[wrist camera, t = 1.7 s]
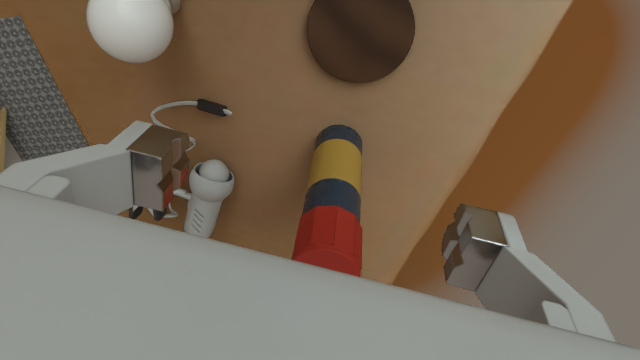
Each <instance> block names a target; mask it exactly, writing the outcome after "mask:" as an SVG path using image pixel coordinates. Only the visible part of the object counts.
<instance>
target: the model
mask: <svg viewBox="0 0 640 360" xmlns="http://www.w3.org/2000/svg"><path fill="white" fill-rule="evenodd" d="M18 162H23V161H22V159H21V158H20V156H19V154H18V153H17V152H16V150H15V148H14V147H13V146H12V143H11V142H10V141H9V140H8V137H7V110H6V108H5V107H4V106H3V107H2V108H1V109H0V173H1V172H2V171H4V170H5V169H6V168H8V167H9V166H11V165H12V164H14V163H18Z"/></svg>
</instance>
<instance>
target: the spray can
mask: <svg viewBox="0 0 640 360" xmlns="http://www.w3.org/2000/svg"><path fill="white" fill-rule="evenodd" d="M361 181H362V140H361V138H360V136H359V134H358V133H357V132H356V131H355V130H353V129H352V128H350V127H347V126H344V125H333V126H330V127H327V128H326V129H324V130H323V131H322V132H321V133H320V134H319V136H318V138H317V141H316V146H315V151H314V155H313V160H312V165H311V170H310V175H309V181H308V186H307V191H306V197H305V203H304V208H303V213H302V215H303V214H305V213H306V212H308V211H309V210H311V209H313V208H314V207H317V206H339V207H341V208H343V209H345V210H347V211H349V212H351V213H353V214H354V215H355V216H356V218H357V220H358V222H359V223H360V206H361Z"/></svg>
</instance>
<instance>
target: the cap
mask: <svg viewBox="0 0 640 360" xmlns="http://www.w3.org/2000/svg"><path fill="white" fill-rule="evenodd" d="M292 260H295V261H299V262H303V263H307V264H311V265H315V266H319V267H323V268H327V269H331V270H334V271H338V272H342V273H346V274H350V275H354V276H358V277H360V275H361V269H362V227H361V225H360V223H359V222H358V220H357V218H356V216H355V215H354V214H353V213H351V212H349V211H347V210H345V209H343V208H341V207H339V206H317V207H314V208H313V209H311V210H309V211H308V212H306V213H305V214H303V215H302V216H301V218H300V222H299V226H298V231H297V236H296V241H295V246H294V251H293V256H292Z"/></svg>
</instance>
